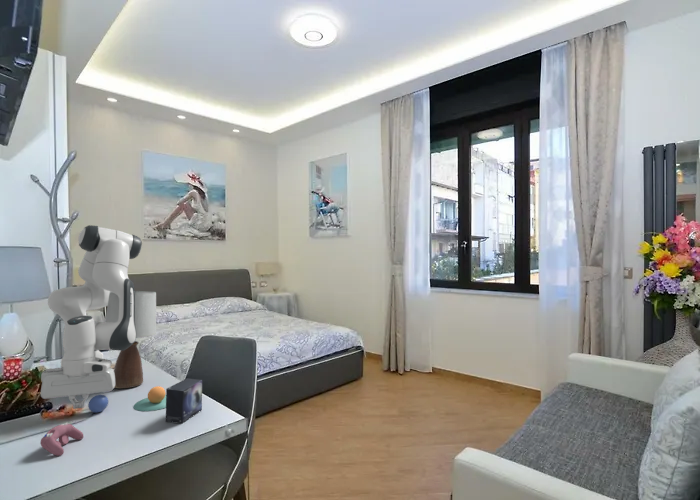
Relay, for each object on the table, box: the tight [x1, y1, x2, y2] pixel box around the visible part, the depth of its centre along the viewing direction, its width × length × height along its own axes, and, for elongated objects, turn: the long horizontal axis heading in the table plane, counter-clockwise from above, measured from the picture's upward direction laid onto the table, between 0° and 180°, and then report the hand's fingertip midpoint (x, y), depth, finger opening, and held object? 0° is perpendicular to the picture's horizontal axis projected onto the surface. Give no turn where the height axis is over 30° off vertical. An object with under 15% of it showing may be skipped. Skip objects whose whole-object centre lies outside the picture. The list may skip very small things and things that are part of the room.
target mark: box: [133, 394, 166, 412], centre depth 131 cm, size 14×14×1 cm
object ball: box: [147, 385, 166, 403], centre depth 131 cm, size 6×6×6 cm
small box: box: [165, 378, 203, 424], centre depth 120 cm, size 11×6×10 cm, turn 168°
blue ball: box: [87, 394, 109, 414], centre depth 124 cm, size 6×6×6 cm
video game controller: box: [40, 422, 84, 457], centre depth 101 cm, size 10×5×7 cm, turn 5°
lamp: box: [105, 290, 157, 389], centre depth 150 cm, size 19×19×37 cm
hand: (79, 407), depth 123 cm, fingers closed
